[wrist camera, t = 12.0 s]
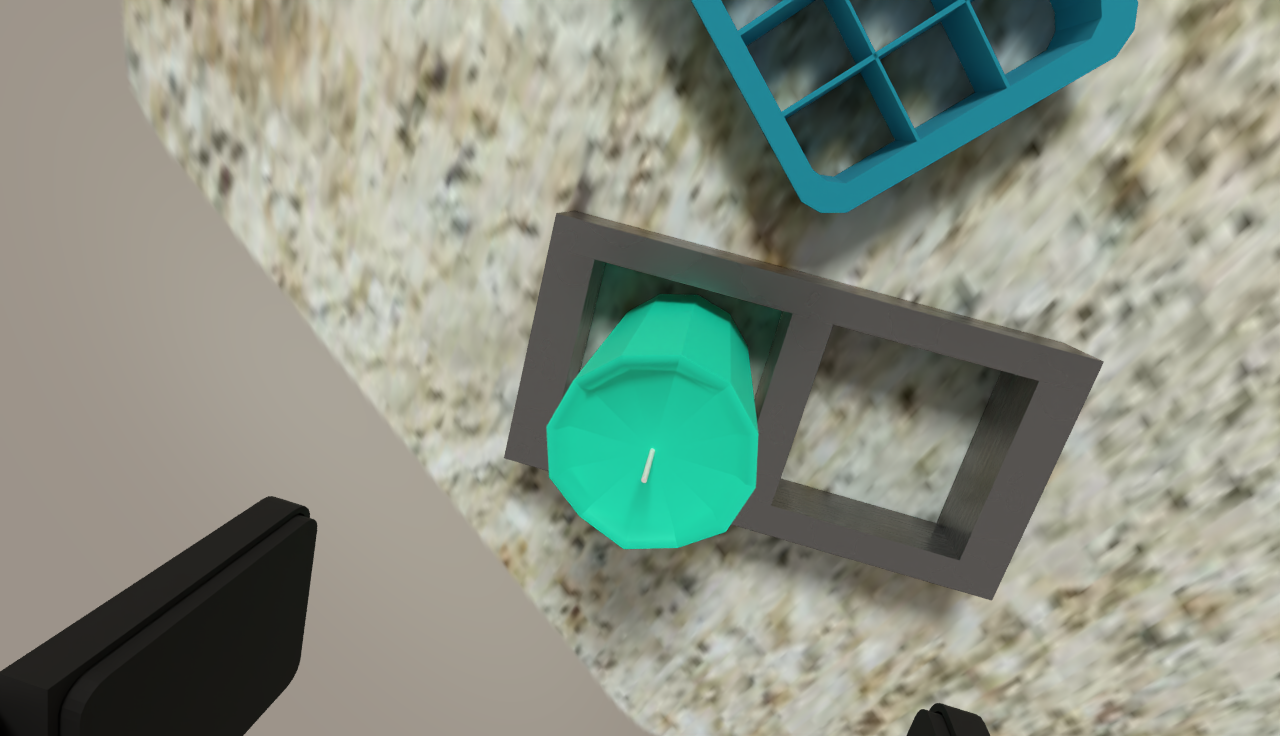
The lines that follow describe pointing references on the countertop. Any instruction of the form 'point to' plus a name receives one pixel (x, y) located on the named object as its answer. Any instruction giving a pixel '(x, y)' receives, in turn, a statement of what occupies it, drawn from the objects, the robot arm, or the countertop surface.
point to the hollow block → (991, 471)
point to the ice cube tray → (1084, 39)
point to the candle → (660, 427)
